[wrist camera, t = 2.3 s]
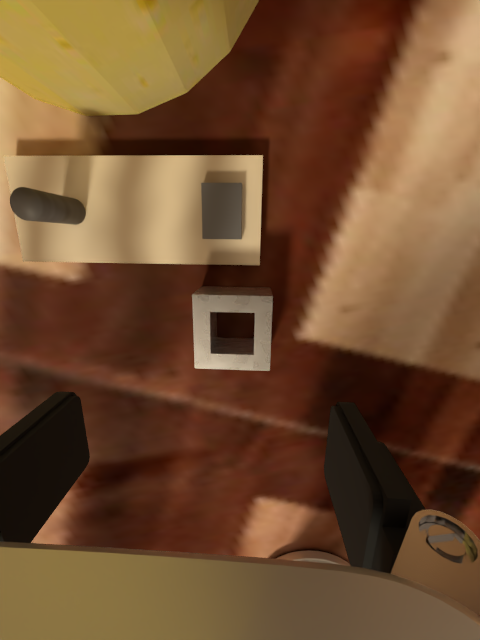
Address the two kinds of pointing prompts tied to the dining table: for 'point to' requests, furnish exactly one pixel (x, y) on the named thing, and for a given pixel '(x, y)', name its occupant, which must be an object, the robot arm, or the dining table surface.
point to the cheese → (115, 49)
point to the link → (224, 349)
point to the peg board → (138, 208)
